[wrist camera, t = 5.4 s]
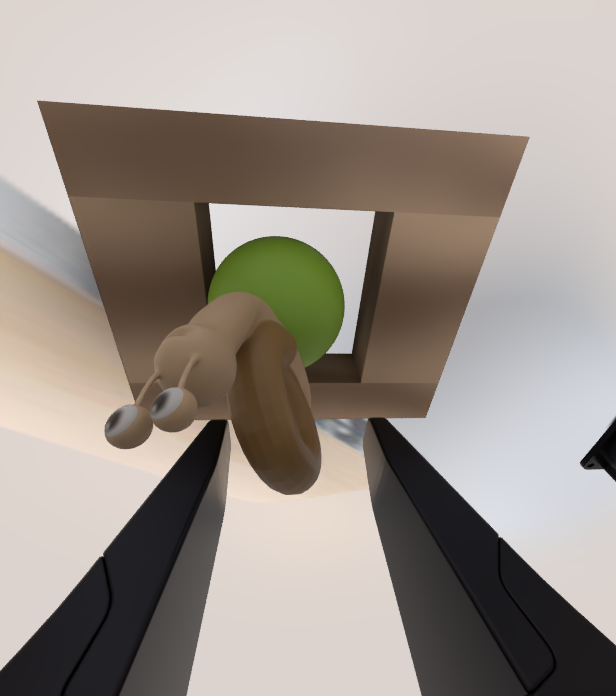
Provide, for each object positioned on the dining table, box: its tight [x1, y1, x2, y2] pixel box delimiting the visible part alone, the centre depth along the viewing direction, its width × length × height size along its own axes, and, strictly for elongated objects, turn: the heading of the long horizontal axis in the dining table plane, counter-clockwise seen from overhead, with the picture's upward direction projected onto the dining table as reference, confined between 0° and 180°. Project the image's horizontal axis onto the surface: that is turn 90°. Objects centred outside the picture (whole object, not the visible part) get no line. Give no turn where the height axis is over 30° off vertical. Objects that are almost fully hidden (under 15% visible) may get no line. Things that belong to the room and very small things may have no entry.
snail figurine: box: [105, 236, 344, 495], centre depth 10 cm, size 5×6×12 cm
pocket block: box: [37, 101, 529, 420], centre depth 15 cm, size 13×15×2 cm
